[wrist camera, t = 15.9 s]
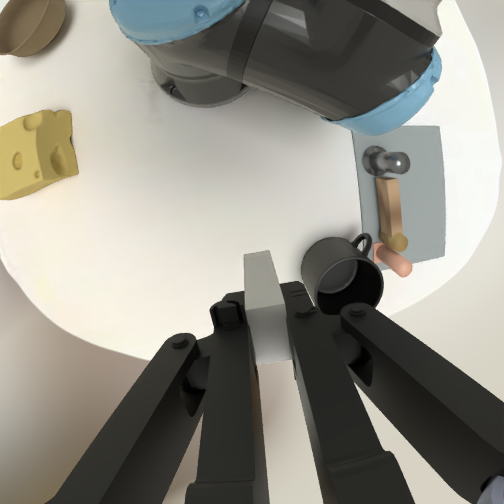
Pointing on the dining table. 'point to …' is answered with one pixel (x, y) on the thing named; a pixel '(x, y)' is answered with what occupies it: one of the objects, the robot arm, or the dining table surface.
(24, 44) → the bowl
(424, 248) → the mat
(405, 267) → the post
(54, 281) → the dining table surface
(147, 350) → the dining table surface
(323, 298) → the mug
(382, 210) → the gate
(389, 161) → the pivot post
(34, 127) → the cheese
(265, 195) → the dining table surface
